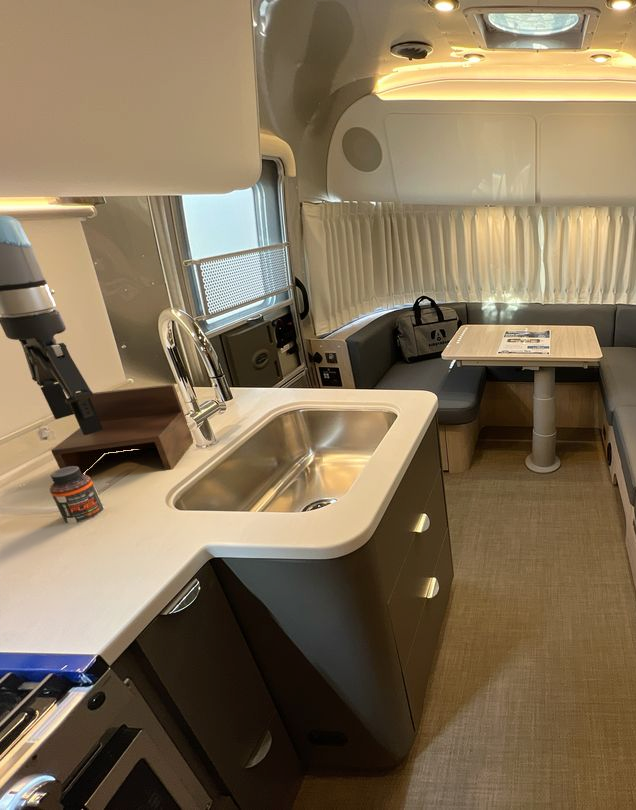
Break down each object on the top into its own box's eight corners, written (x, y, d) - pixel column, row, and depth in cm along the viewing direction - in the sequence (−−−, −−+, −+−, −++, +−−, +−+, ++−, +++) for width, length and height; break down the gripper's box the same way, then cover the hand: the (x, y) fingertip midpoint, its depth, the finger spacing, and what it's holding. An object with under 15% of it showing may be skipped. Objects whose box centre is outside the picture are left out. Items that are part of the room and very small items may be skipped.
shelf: (171, 470, 112) (147, 408, 106) (68, 485, 107) (36, 421, 100) (194, 441, 125) (173, 384, 119) (102, 453, 120) (76, 394, 114)
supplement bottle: (79, 532, 92) (54, 482, 87) (60, 526, 94) (34, 476, 89) (114, 514, 97) (91, 466, 92) (95, 508, 99) (72, 461, 94)
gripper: (85, 315, 79) (131, 430, 88) (31, 301, 91) (77, 404, 100) (23, 326, 73) (79, 448, 82) (-25, 309, 85) (28, 417, 94)
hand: (78, 424), depth 91 cm, fingers open, 13 cm apart
